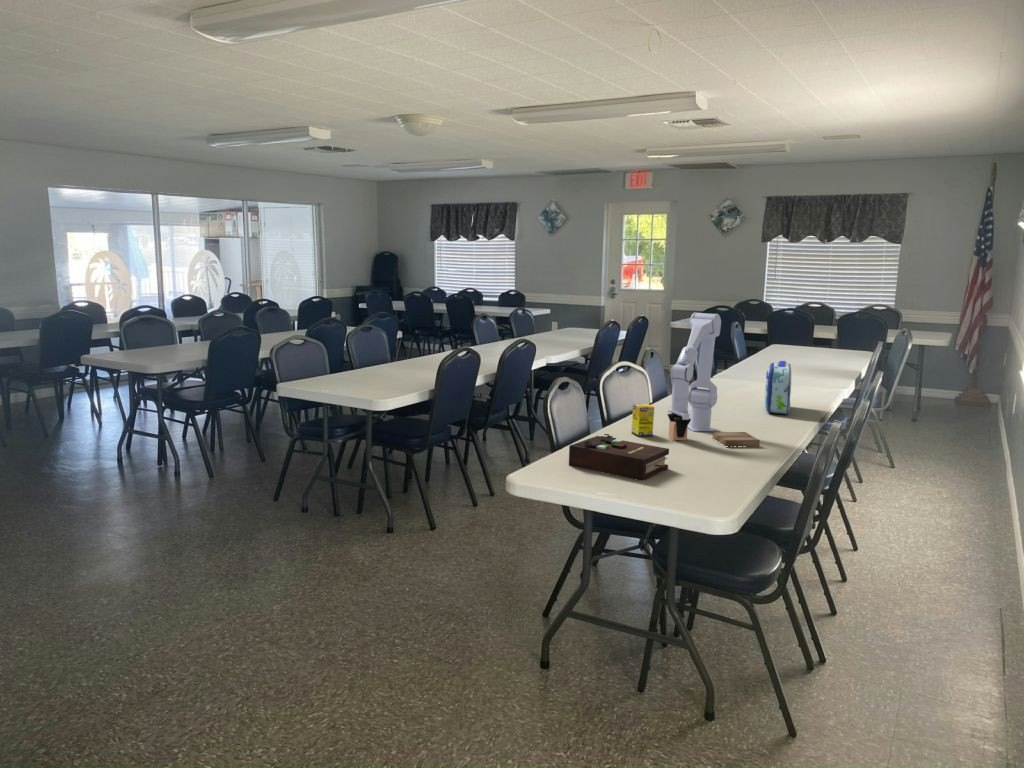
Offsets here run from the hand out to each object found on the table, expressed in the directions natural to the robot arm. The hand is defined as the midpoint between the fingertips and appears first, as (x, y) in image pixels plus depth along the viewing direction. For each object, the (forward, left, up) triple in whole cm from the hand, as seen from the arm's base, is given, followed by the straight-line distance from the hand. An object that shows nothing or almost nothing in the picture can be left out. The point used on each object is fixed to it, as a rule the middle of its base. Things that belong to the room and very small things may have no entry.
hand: (677, 435), depth 269 cm
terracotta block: (0, 0, -1) cm, 1 cm away
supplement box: (-7, -11, -2) cm, 13 cm away
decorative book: (+35, -31, -2) cm, 46 cm away
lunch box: (-50, +61, -2) cm, 79 cm away
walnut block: (+6, +19, -2) cm, 20 cm away
